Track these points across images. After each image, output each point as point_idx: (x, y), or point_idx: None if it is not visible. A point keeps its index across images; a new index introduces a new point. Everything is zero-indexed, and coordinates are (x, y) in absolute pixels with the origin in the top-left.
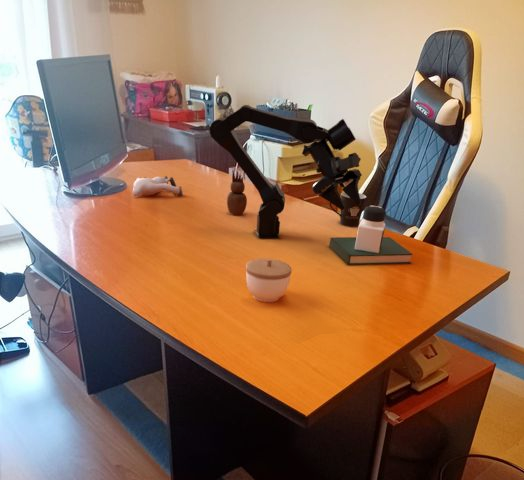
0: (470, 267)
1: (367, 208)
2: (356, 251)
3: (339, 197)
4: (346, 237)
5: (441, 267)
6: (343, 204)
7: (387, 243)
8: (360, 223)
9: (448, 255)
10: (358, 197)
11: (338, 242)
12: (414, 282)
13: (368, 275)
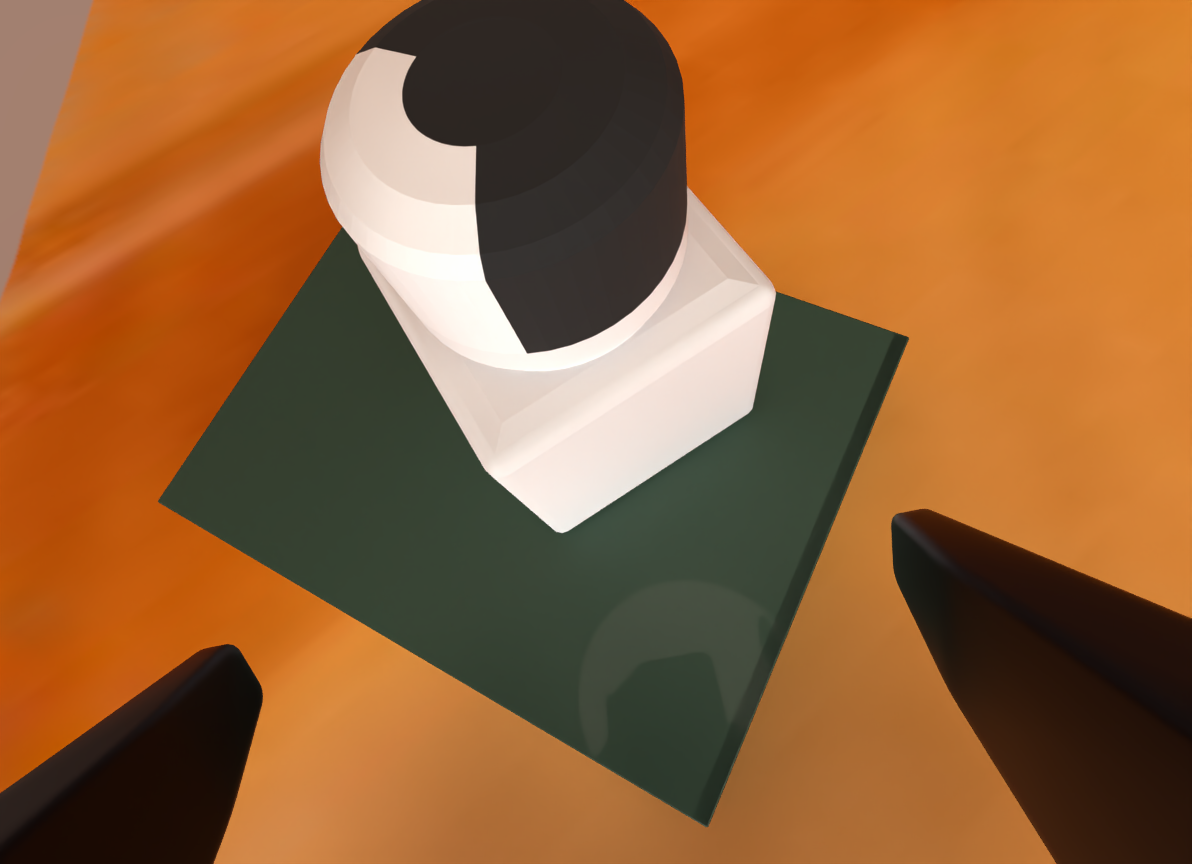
0: (183, 43)
1: (627, 134)
2: (770, 372)
3: (1189, 651)
4: (532, 719)
5: (316, 98)
6: (948, 546)
7: (337, 389)
8: (669, 349)
9: (79, 202)
10: (135, 729)
11: (748, 644)
12: (676, 14)
13: (875, 181)
